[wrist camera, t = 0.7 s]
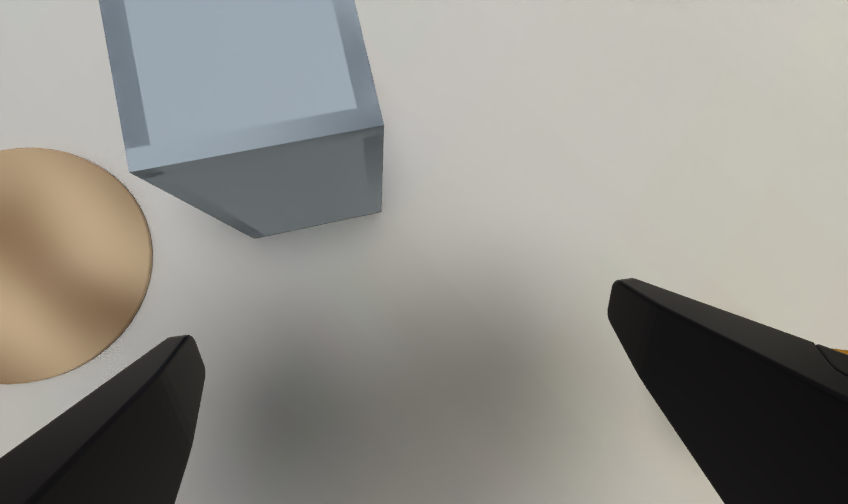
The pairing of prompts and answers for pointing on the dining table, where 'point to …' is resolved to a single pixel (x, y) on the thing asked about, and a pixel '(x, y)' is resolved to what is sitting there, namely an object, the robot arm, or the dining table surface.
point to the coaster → (65, 262)
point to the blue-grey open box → (249, 108)
